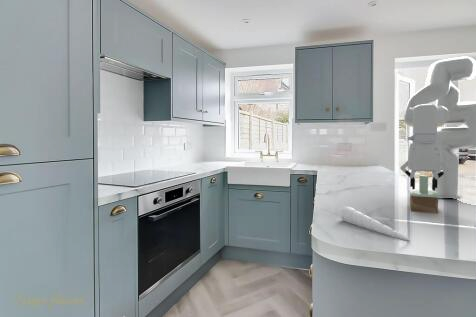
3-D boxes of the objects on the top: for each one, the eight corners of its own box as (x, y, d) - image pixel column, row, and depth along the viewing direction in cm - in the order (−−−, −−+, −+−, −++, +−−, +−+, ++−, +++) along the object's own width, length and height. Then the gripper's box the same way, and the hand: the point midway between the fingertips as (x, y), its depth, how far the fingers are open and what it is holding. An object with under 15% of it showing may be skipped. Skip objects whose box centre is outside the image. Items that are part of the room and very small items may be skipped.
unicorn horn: (398, 244, 75) (398, 224, 75) (338, 221, 97) (338, 206, 97) (413, 242, 76) (414, 223, 76) (351, 220, 99) (351, 205, 99)
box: (409, 207, 118) (409, 191, 118) (434, 208, 115) (434, 192, 114) (410, 212, 108) (411, 195, 108) (437, 214, 105) (438, 197, 105)
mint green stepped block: (409, 194, 118) (409, 173, 118) (435, 196, 114) (435, 174, 114) (410, 199, 108) (410, 176, 108) (439, 201, 104) (439, 177, 104)
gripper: (397, 139, 111) (396, 189, 112) (455, 139, 103) (453, 192, 104) (397, 139, 118) (396, 186, 118) (451, 139, 110) (450, 189, 111)
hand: (423, 189), depth 111 cm, fingers open, 5 cm apart
